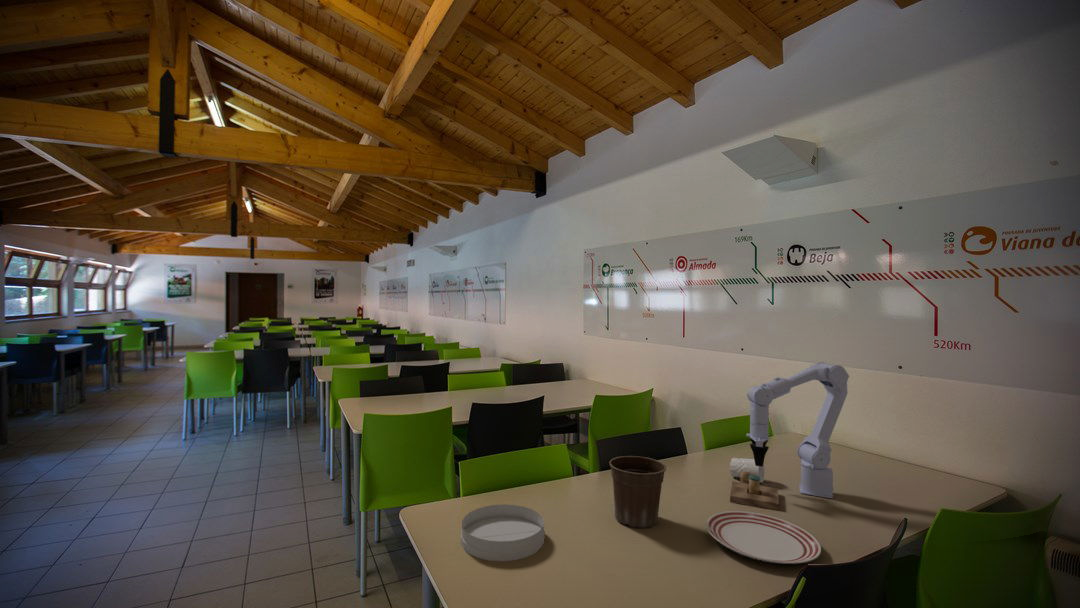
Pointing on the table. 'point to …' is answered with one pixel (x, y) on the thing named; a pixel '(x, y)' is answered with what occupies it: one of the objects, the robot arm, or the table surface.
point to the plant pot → (637, 489)
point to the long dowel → (754, 484)
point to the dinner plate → (763, 537)
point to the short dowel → (745, 477)
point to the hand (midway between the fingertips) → (758, 462)
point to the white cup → (746, 468)
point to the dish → (502, 532)
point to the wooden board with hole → (754, 496)
